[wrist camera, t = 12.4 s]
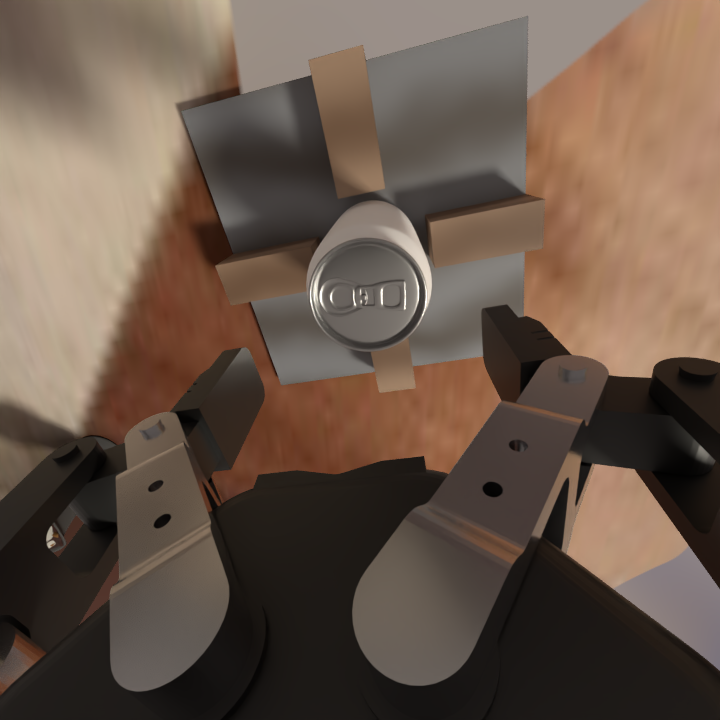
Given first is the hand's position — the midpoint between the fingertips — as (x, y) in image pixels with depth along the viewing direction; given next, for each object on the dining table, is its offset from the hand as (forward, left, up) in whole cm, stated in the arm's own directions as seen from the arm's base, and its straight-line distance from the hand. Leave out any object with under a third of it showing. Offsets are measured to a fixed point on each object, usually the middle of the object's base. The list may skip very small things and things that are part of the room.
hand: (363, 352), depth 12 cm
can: (0, 0, -18) cm, 18 cm away
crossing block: (0, 0, -18) cm, 18 cm away
